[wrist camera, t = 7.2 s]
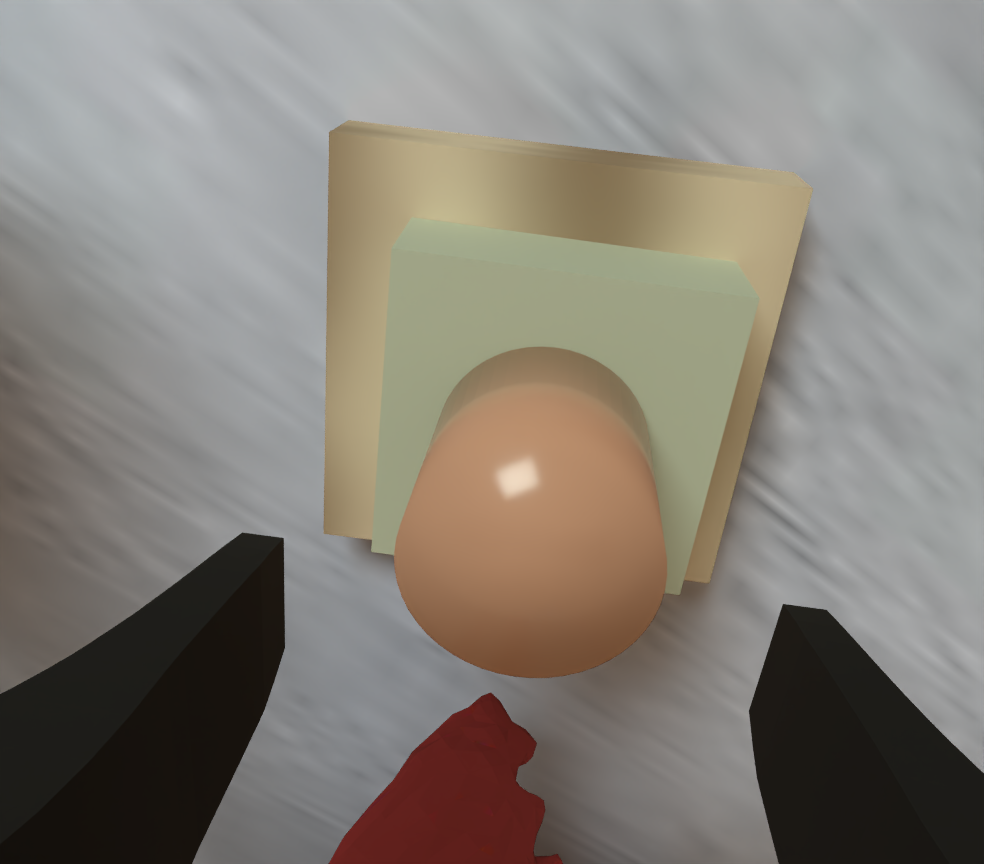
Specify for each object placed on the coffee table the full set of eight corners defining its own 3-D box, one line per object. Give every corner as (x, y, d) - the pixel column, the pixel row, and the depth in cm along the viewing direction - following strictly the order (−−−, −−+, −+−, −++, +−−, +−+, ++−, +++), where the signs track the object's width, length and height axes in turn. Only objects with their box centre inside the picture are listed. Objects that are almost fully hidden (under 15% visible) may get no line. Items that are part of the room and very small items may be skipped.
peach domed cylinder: (429, 522, 19) (388, 658, 15) (444, 333, 17) (401, 432, 13) (630, 549, 19) (641, 694, 15) (667, 361, 17) (691, 469, 13)
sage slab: (390, 495, 22) (371, 551, 20) (411, 217, 19) (391, 248, 17) (667, 533, 22) (679, 595, 20) (736, 261, 19) (759, 298, 17)
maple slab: (345, 485, 25) (323, 533, 23) (355, 116, 20) (329, 131, 18) (696, 529, 25) (709, 583, 23) (786, 166, 20) (813, 188, 18)
